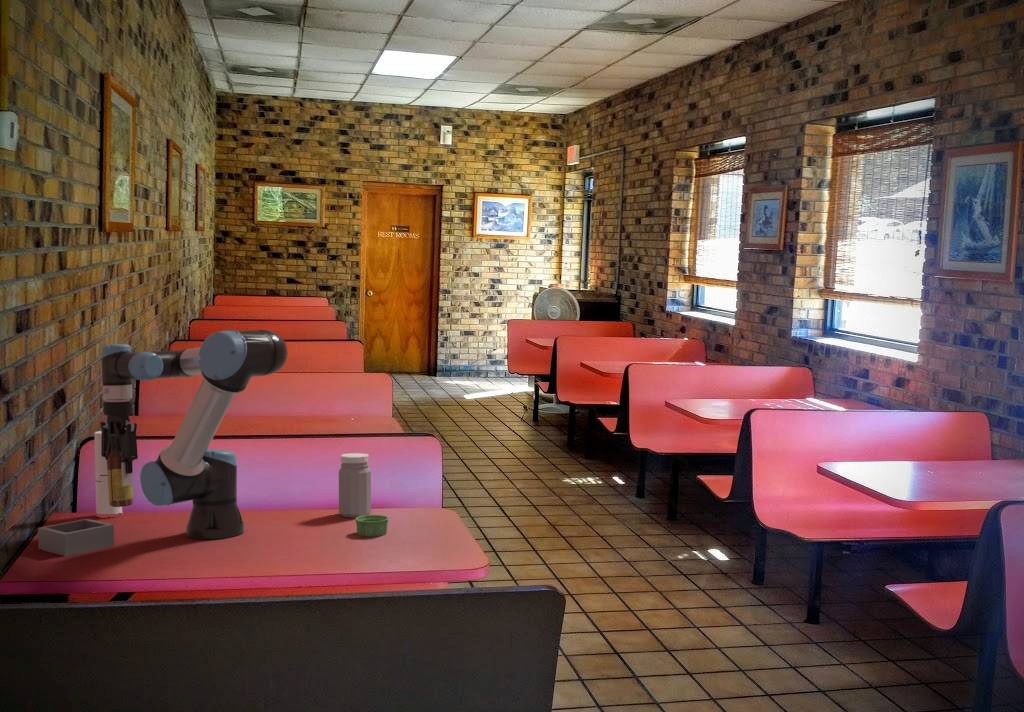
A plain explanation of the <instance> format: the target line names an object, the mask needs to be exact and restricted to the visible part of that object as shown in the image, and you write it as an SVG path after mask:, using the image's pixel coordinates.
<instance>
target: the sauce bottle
mask: <svg viewBox="0 0 1024 712" xmlns="http://www.w3.org/2000/svg"><path fill="white" fill-rule="evenodd" d="M110 440H111V452H110V455H109V456H108V458H107V464H108V469H107V472H108V490H109V501H110V506H113V507H122V508H123V507H127V506H128V507H129V506H131V505H133V503H134V489H133V486H134V485H128V486H122V466H121V461H122V460H123V456H122V451H121V447H120V442H119V438H117V436H116V434H110Z"/></svg>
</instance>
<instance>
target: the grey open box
mask: <svg viewBox="0 0 1024 712" xmlns="http://www.w3.org/2000/svg"><path fill="white" fill-rule="evenodd" d="M37 540H38V548H39V549H38V550H40V549H42V550H41V551H44V552H48V553H51V554H56V555H59V556H62V557H63V556H64V557H68V556H69V557H70V556H73V555H77V554H81V553H82V554H83V553H85V552H91V551H96V550H101V549H104V548H105V549H106V548H111V547H114V546H115V524H114V523H113V524H112V523H107V522H103V521H98V520H94V519H89V518H83V519H77V520H73V521H68V522H62V523H61V522H60V523H56V524H52V525H46V526H45V525H44V526H41V527H38V528H37Z"/></svg>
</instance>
